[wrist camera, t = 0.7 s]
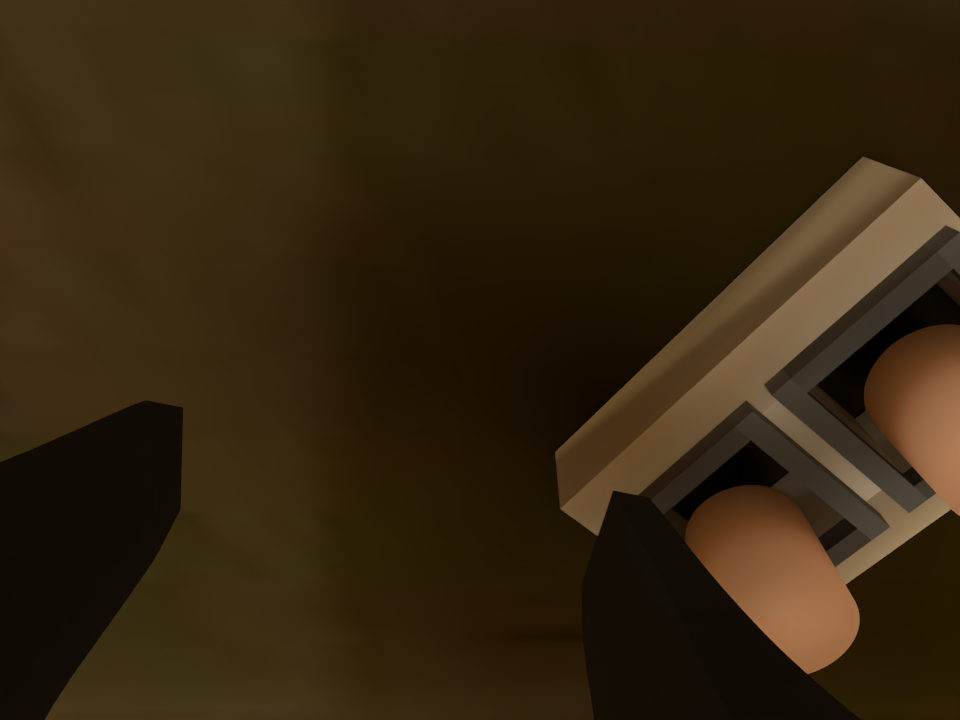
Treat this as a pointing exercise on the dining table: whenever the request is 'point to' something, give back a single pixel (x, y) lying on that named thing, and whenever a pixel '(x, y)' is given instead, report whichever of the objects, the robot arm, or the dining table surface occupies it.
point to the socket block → (785, 376)
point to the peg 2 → (922, 405)
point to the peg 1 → (776, 572)
